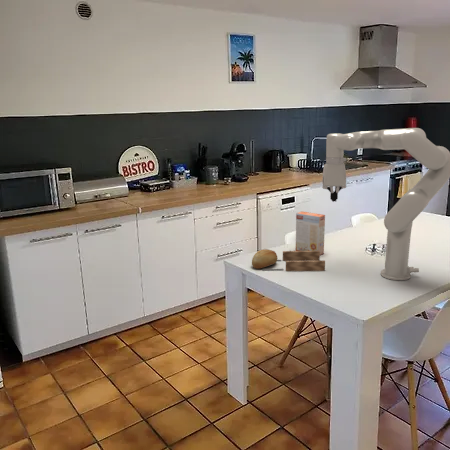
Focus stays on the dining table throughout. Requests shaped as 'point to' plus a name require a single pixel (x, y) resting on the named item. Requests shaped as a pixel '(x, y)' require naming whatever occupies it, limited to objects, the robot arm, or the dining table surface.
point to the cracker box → (310, 232)
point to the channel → (303, 261)
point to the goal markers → (272, 269)
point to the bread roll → (264, 258)
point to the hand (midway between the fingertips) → (333, 200)
